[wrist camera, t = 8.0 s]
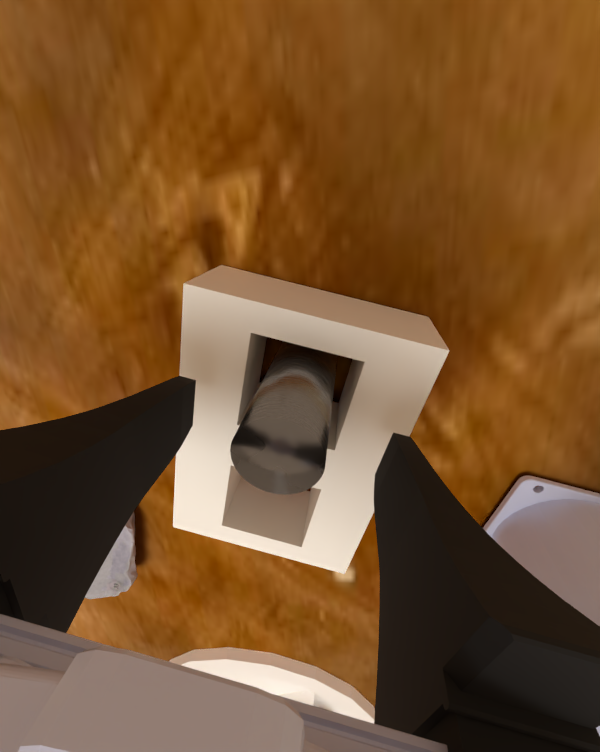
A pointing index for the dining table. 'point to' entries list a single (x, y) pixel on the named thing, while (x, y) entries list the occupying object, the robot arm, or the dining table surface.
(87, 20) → the dining table surface
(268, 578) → the dining table surface
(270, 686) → the dish
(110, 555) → the stone block
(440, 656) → the robot arm
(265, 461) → the peg
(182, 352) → the hole block
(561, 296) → the dining table surface
